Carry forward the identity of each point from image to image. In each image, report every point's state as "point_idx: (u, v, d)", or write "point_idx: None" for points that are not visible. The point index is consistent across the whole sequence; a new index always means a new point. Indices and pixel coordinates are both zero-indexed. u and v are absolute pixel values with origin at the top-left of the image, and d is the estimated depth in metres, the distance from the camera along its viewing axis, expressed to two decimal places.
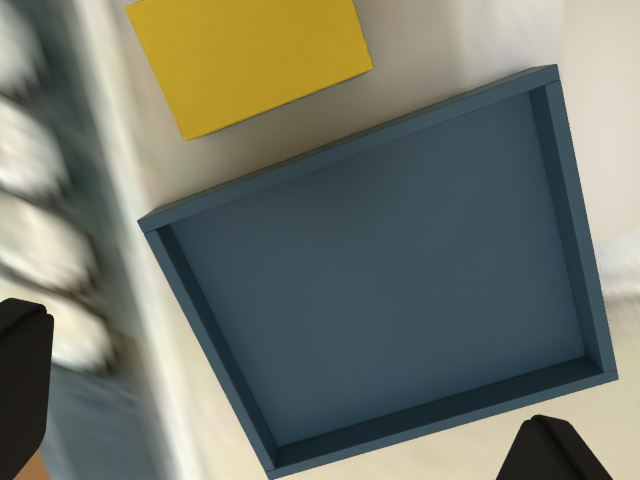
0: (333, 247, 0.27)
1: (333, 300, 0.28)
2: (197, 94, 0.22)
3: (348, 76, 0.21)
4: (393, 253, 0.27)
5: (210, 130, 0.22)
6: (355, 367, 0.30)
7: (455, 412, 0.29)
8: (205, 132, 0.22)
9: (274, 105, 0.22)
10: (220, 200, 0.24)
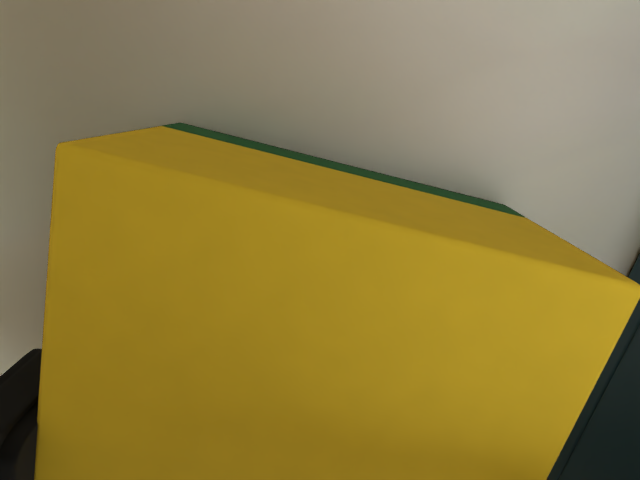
0: None
1: None
2: None
3: (594, 381, 0.05)
4: None
5: None
6: None
7: None
8: None
9: None
10: None
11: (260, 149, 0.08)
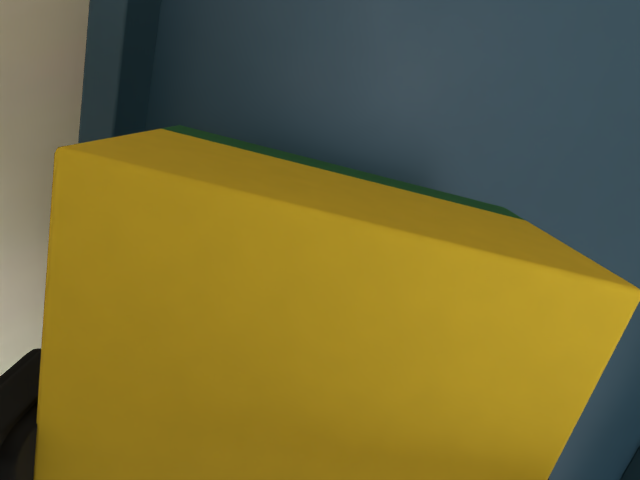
0: None
1: None
2: None
3: (594, 385, 0.05)
4: (396, 144, 0.12)
5: None
6: None
7: None
8: None
9: None
10: None
11: (259, 152, 0.08)
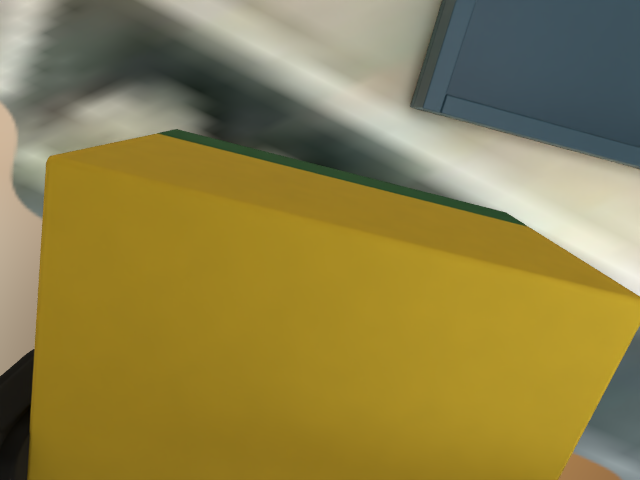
0: None
1: None
2: None
3: (599, 398, 0.05)
4: None
5: None
6: None
7: None
8: None
9: None
10: None
11: (258, 157, 0.07)
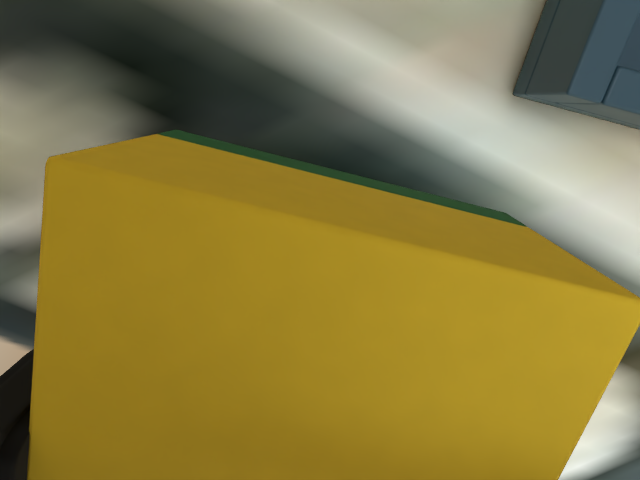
0: None
1: None
2: None
3: (598, 399, 0.05)
4: None
5: None
6: None
7: None
8: None
9: None
10: None
11: (257, 157, 0.07)
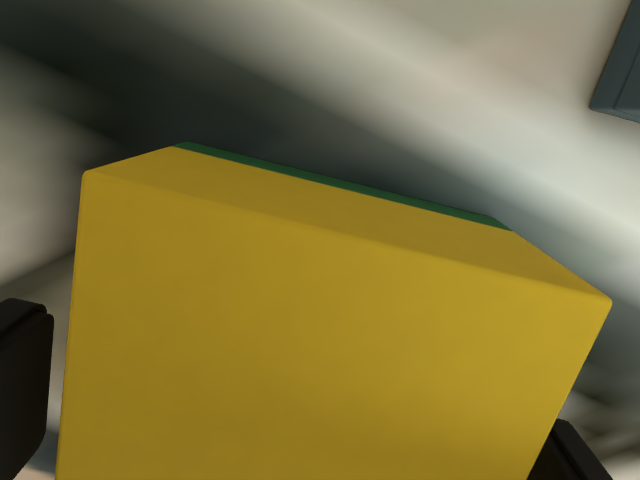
0: None
1: None
2: None
3: (570, 386, 0.06)
4: None
5: None
6: None
7: None
8: None
9: None
10: None
11: (264, 167, 0.08)
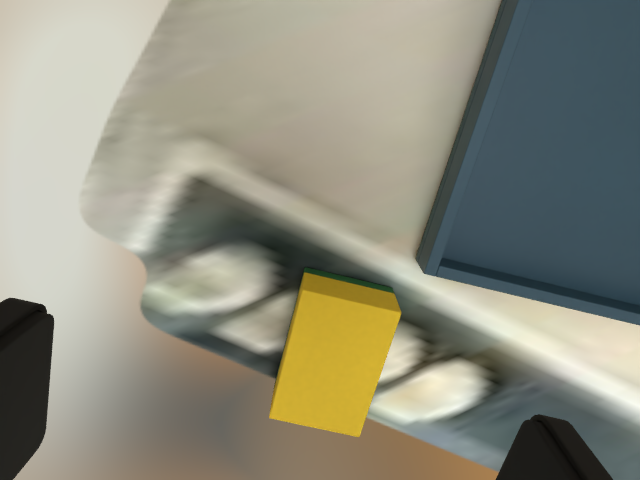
0: (553, 146, 0.28)
1: (594, 177, 0.29)
2: (339, 414, 0.31)
3: (395, 329, 0.29)
4: (600, 99, 0.27)
5: (364, 420, 0.31)
6: None
7: None
8: (363, 424, 0.31)
9: (378, 379, 0.30)
10: (457, 203, 0.27)
11: (328, 276, 0.31)
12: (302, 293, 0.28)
